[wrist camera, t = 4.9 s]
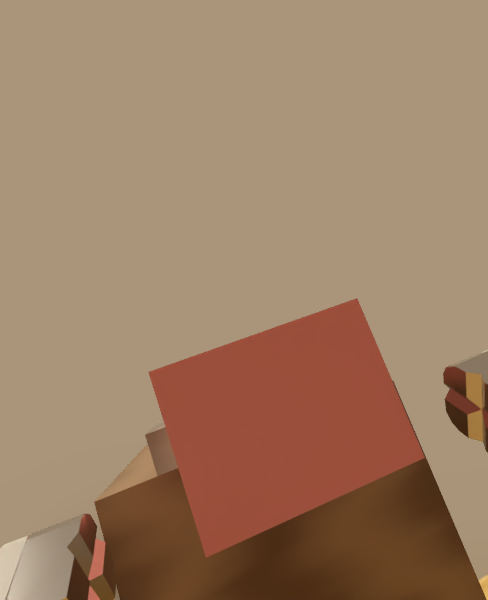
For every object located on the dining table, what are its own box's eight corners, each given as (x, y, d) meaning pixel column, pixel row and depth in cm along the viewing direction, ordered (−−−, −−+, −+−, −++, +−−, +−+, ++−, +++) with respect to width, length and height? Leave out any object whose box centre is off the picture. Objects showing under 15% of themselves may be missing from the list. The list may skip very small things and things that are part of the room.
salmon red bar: (205, 557, 6) (148, 372, 6) (203, 420, 27) (190, 381, 28) (424, 457, 6) (356, 298, 7) (254, 400, 28) (240, 362, 28)
